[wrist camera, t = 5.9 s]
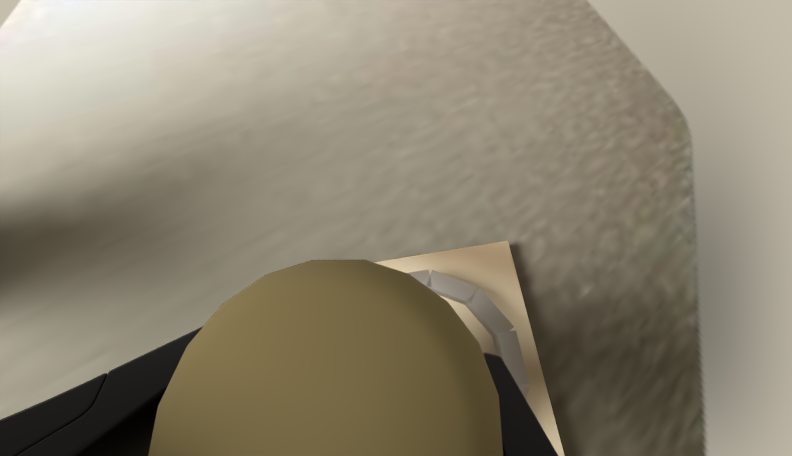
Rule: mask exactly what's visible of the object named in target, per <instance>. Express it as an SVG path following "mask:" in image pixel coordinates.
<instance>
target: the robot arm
mask: <svg viewBox="0 0 792 456" xmlns="http://www.w3.org/2000/svg"><path fill="white" fill-rule="evenodd" d="M202 328H203V327H201V328H199V329H197V330H195V331H192V332H190V333H188V334H186V335H184V336H182V337H180V338H178V339H176V340H174V341H172V342H169V343H167V344H165V345H163V346H161V347H159V348H157V349H155V350H153V351H151V352H148V353H146V354H144V355H142V356H140V357H138V358H136V359H134V360H132V361H130V362H128V363H125V364H123V365H121V366H119V367H117V368H115V369H113V370H111V371H109V373H108V374H107V373H104V374H102V375H100V376H98V377H96V378H94V379H92V380H90V381H87V382H85V383H83V384H81V385H79V386H77V387H75V388H72V389H70V390H68V391H66V392H64V393H61V394H59V395H57V396H55V397H53V398H51V399H48V400H46V401H44V402H41V403H39V404H37V405H34V406H32V407H30V408H27V409H25V410H22V411H20V412H18V413H15V414H13V415H11V416H8V417H6V418H3V419H1V420H0V456H148V455H149V450H150V445H151V439H152V434H153V429H154V424H155V419H156V414H157V409H158V405H159V403H160V401H161V399H162V397H163V395H164V393H165V391H166V389H167V387H168V384H169V382H170V380H171V378H172V376H173V374H174V372H175V370H176V368H177V366H178V364H179V362H180V360H181V357H182V355H183V353H184V351H185V349H186V347H187V345H188V344H189V343H190V342H191V341H192V339H193V338H194V337H195V336H196V335H197V333H198V332H199V331H200V330H201V329H202ZM483 355H484V358H485V360H486V363H487V366H488V368H489V371H490V374H491V376H492V379H493V382H494V384H495V387H496V390H497V392H498V395H499V406H500V419H501V432H502V445H503V456H558V454H557V452H556V451H555V449H554V447H553V445H552V444H551V442H550V440H549V439H548V437H547V435H546V433H545V432H544V430H543V428H542V427H541V425H540V423H539V421H538V420H537V418H536V416H535V414H534V413H533V411H532V409H531V408H530V406H529V404H528V402H527V401H526V399H525V397H524V395H523V394H522V392H521V390H520V389H519V387H518V385H517V383H516V382H515V380H514V378H513V377H512V375H511V373H510V371H509V370H508V368H507V366H506V364H505V363H504V361H503V359H502V358H501V357H500V356H498V355H495V354H491V353H487V352H484V353H483Z"/></svg>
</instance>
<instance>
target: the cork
mask: <svg viewBox="0 0 792 456" xmlns="http://www.w3.org/2000/svg"><path fill="white" fill-rule="evenodd" d="M148 456H503V445H502V432H501V419H500V406H499V395H498V392H497V390H496V387H495V384H494V382H493V379H492V376H491V374H490V371H489V368H488V366H487V363H486V360H485V358H484V355H483V352H482V350H481V347H480V344H479V342H478V341H477V340H476V338H475V337H474V336H473V334H472V333H471V332H470V330H469V329H468V328H467V326H466V325H465V324H464V322H463V321H462V320H461V318H460V317H459V316H458V315H457V313H456V312H455V311H454V309H453V308H452V307H451V305H450V304H449V303H448V302H447V301H446V300H445V299H443V298H442V297H440V296H439V295H438V294H436V293H435V292H434V291H432V290H431V289H429V288H428V287H427V286H425V285H424V284H422V283H421V282H420V281H418V280H417V279H415V278H414V277H413V276H411V275H410V274H408V273H405V272H402V271H398V270H395V269H392V268H389V267H386V266H383V265H380V264H377V263H373V262H370V261H367V260H311V261H308V262H305V263H301V264H298V265H295V266H292V267H289V268H286V269H282V270H279V271H276V272H273V273H270V274H267V275H265V276H263V277H262V278H260V279H259V280H257V281H256V282H254V283H253V284H251V285H250V286H248V287H247V288H245V289H244V290H242V291H241V292H239V293H238V294H236V295H235V296H233V297H232V298H231V299H229V300H228V301H226V302H225V303H223V304H222V305H221V307H220V308H219V309H218V310H217V311H216V312H215V314H214V315H213V316H212V317H211V318H210V319H209V321H208V322H207V323H206V324H205V325H204V326H203V328H202V329H201V330H200V331H199V332H198V333H197V335H196V336H195V337H194V338H193V339H192V341H191V342H190V343H189V344H188V345H187V347H186V349H185V351H184V353H183V355H182V357H181V360H180V362H179V364H178V366H177V368H176V370H175V372H174V374H173V376H172V378H171V380H170V382H169V384H168V387H167V389H166V391H165V393H164V395H163V397H162V399H161V401H160V403H159V405H158V409H157V414H156V419H155V424H154V429H153V434H152V439H151V445H150V450H149V455H148Z"/></svg>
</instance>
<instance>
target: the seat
mask: <svg viewBox="0 0 792 456" xmlns="http://www.w3.org/2000/svg"><path fill="white" fill-rule="evenodd" d="M374 263H377V264H380V265H383V266H386V267H389V268H392V269H395V270H398V271H402V272H405V273H408V274H410V275H411V276H413V277H414V278H415V279H417V280H418V281H420V282H421V283H422V284H424V285H425V286H427V287H428V288H429V289H431V290H432V291H434V292H435V293H436V294H438V295H439V296H440V297H442V298H443V299H445V300H446V301H447V302H448V303H449V304H450V305H451V307H452V308H453V309H454V311H455V312H456V313H457V315H458V316H459V317H460V318H461V320H462V321H463V322H464V324H465V325H466V326H467V328H468V329H469V330H470V332H471V333H472V334H473V336H474V337H475V338H476V340H477V341H478V342H479V344H480V347H481V350H482V352H483V353H484V352H487V353H491V354H495V355H498V356H500V357H501V358H502V359H503V361H504V363H505V364H506V366H507V368H508V370H509V371H510V373H511V375H512V377H513V378H514V380H515V382H516V383H517V385H518V387H519V389H520V390H521V392H522V394H523V395H524V397H525V399H526V401H527V402H528V404H529V406H530V408H531V409H532V411H533V413H534V414H535V416H536V418H537V420H538V421H539V423H540V425H541V427H542V428H543V430H544V432H545V433H546V435H547V437H548V439H549V440H550V442H551V444H552V445H553V447H554V449H555V451H556V452H557V454H558V456H564V452H563V448H562V444H561V440H560V437H559V433H558V429H557V425H556V421H555V418H554V414H553V410H552V406H551V402H550V399H549V395H548V391H547V387H546V383H545V380H544V376H543V372H542V368H541V364H540V361H539V357H538V353H537V349H536V345H535V342H534V338H533V334H532V330H531V326H530V323H529V319H528V315H527V311H526V307H525V304H524V300H523V296H522V292H521V289H520V285H519V281H518V277H517V273H516V270H515V266H514V262H513V258H512V254H511V251H510V247H509V243H508V241H503V242H497V243H490V244H484V245H478V246H472V247H466V248H460V249H454V250H448V251H442V252H435V253H429V254H423V255H417V256H411V257H405V258H399V259H393V260H387V261H380V262H374Z"/></svg>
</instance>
